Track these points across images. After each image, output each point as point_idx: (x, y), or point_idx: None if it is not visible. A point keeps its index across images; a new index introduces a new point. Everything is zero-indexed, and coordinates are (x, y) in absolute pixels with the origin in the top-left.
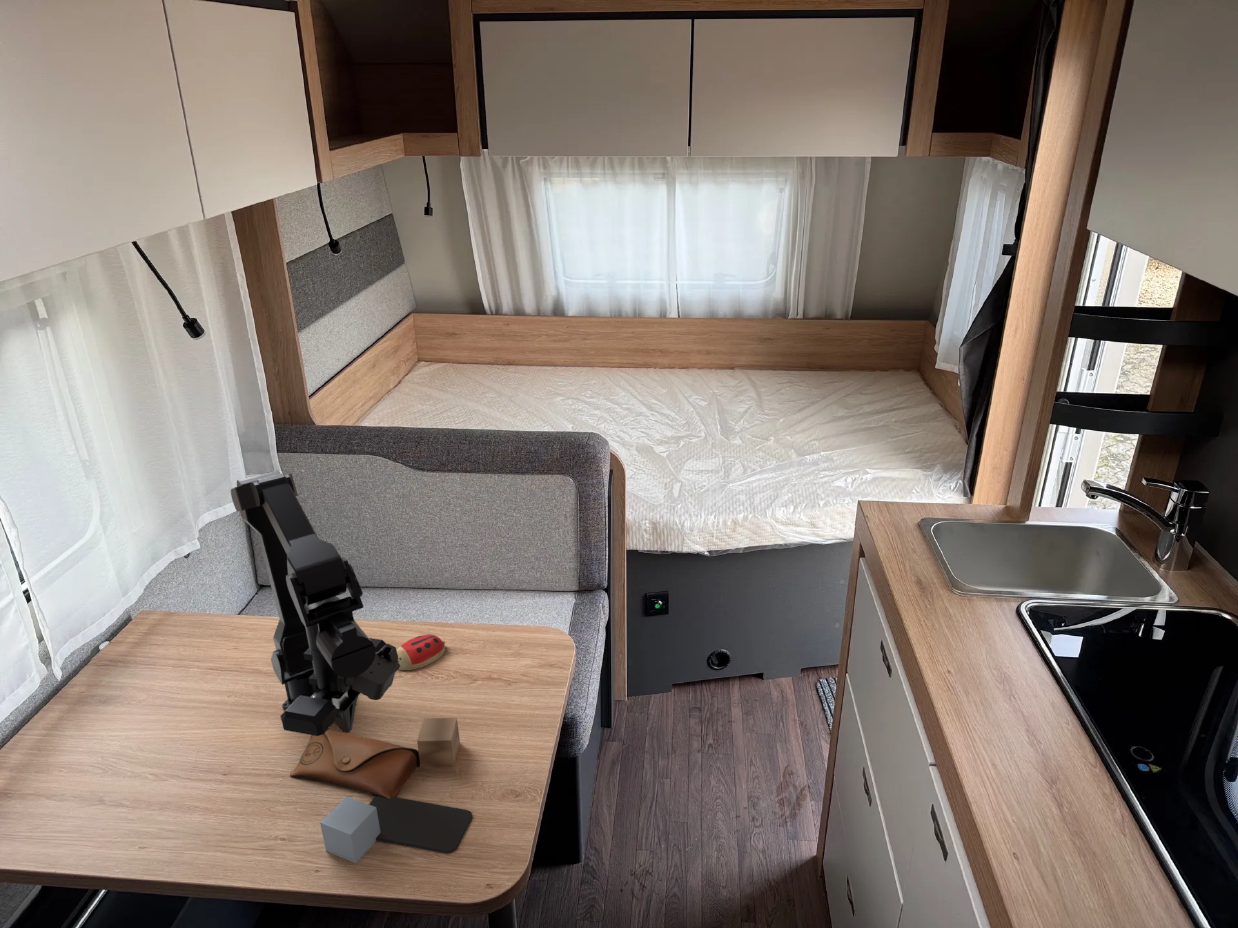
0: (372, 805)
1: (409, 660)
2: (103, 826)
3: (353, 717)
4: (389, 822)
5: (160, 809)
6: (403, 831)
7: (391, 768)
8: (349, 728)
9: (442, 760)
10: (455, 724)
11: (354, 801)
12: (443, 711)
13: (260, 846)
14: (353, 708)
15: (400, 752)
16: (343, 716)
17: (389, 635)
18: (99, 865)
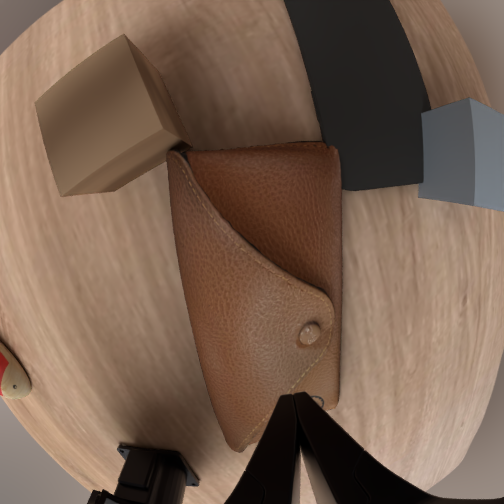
0: (372, 177)
1: (6, 370)
2: (432, 464)
3: (271, 432)
4: (394, 106)
5: (413, 457)
6: (396, 68)
7: (273, 182)
8: (305, 402)
9: (162, 88)
10: (57, 83)
11: (480, 169)
12: (32, 233)
13: (475, 319)
14: (276, 480)
15: (211, 186)
16: (386, 471)
17: (17, 413)
18: (475, 427)
